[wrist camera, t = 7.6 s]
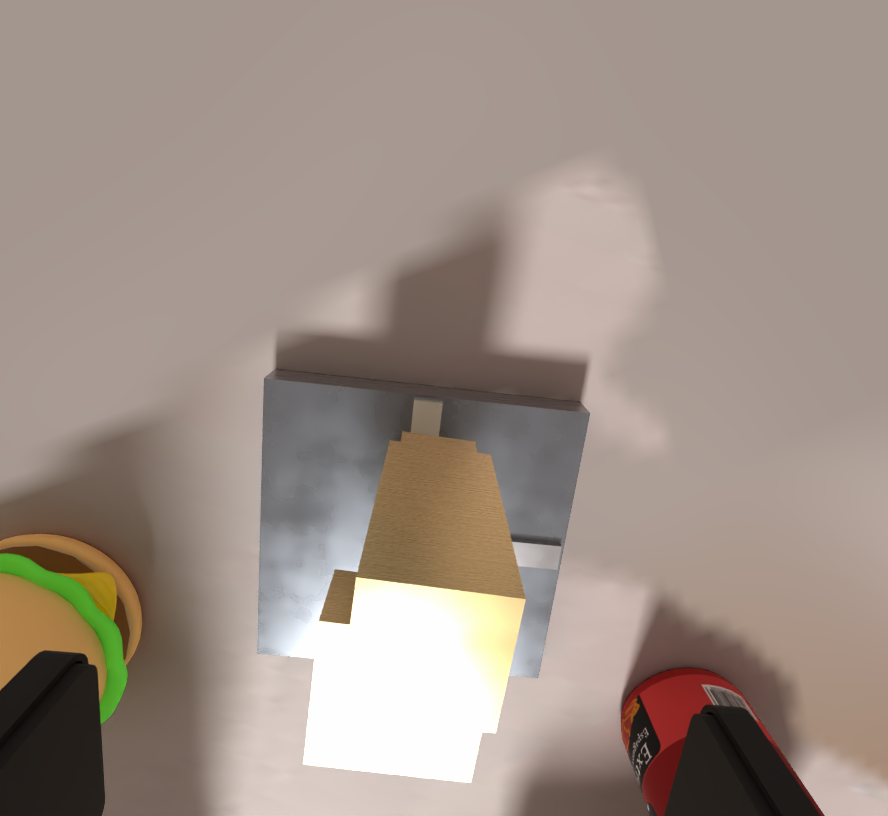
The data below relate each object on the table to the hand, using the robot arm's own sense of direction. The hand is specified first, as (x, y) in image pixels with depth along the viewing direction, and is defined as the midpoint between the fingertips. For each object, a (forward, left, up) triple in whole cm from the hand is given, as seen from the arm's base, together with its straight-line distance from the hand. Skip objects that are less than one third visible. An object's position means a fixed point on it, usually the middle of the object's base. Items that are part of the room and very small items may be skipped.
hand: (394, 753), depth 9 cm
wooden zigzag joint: (0, -4, -12) cm, 12 cm away
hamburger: (-20, -15, -22) cm, 33 cm away
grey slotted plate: (0, -8, -22) cm, 23 cm away
